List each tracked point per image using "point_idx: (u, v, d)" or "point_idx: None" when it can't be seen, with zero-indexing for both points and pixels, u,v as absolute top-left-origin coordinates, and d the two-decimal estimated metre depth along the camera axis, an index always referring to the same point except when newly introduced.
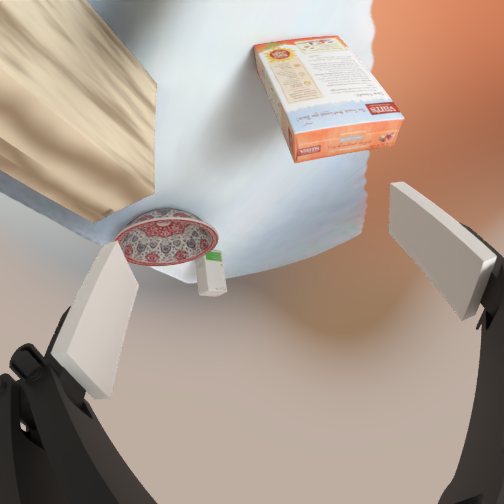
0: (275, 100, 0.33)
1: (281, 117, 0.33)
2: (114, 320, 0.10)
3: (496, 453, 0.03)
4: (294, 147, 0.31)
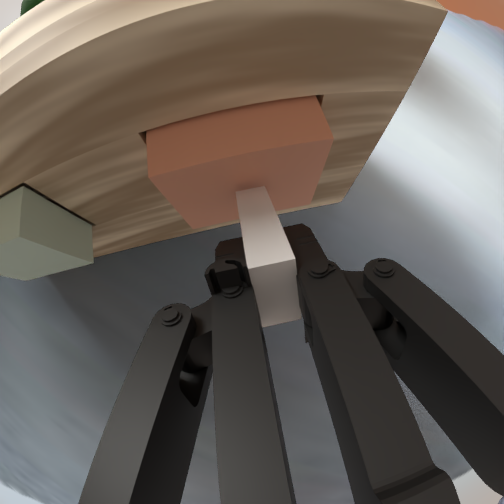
0: None
1: None
2: None
3: (371, 493, 0.03)
4: None
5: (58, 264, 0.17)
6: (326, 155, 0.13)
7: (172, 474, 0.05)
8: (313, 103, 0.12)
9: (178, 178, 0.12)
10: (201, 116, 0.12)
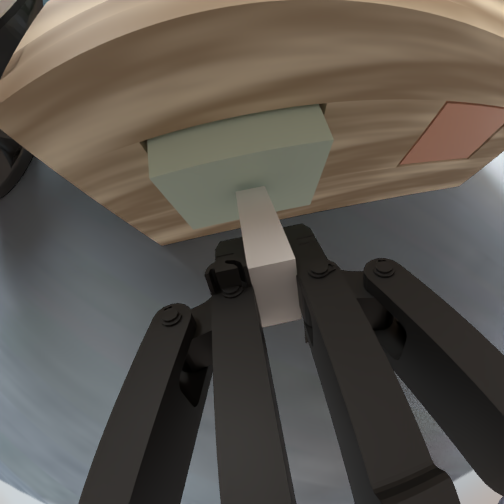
0: None
1: None
2: None
3: (371, 493, 0.03)
4: None
5: (280, 200, 0.18)
6: None
7: (173, 474, 0.05)
8: None
9: (454, 111, 0.13)
10: None
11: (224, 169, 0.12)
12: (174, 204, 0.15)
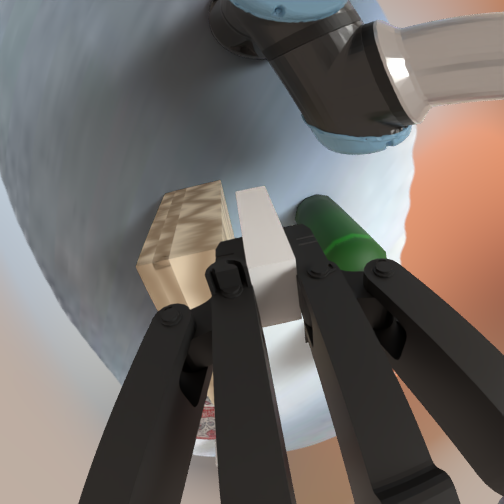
0: None
1: None
2: None
3: (372, 493, 0.03)
4: None
5: None
6: None
7: (172, 474, 0.05)
8: None
9: None
10: None
11: None
12: None
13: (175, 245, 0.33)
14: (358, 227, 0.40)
